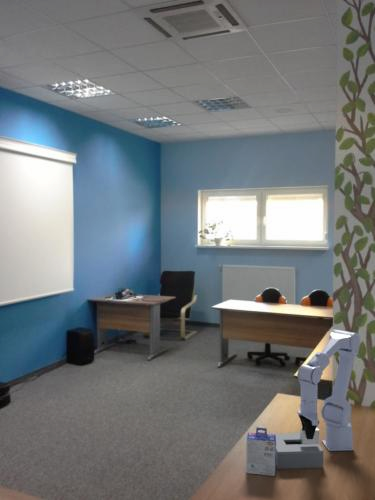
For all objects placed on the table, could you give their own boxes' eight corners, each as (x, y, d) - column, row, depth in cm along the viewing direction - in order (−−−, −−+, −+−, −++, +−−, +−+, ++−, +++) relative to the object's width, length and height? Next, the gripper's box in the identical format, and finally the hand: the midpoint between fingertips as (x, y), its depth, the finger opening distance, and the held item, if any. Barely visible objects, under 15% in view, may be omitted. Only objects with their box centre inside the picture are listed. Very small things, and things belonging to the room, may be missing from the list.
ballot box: (310, 448, 177) (310, 432, 176) (323, 467, 163) (323, 450, 163) (268, 449, 176) (268, 433, 176) (277, 468, 162) (277, 452, 162)
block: (316, 440, 167) (316, 427, 167) (318, 444, 165) (319, 430, 164) (300, 441, 167) (300, 427, 166) (302, 444, 164) (302, 430, 164)
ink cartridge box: (276, 468, 162) (276, 427, 162) (275, 476, 157) (276, 434, 156) (247, 465, 164) (247, 425, 164) (246, 473, 159) (246, 432, 158)
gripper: (291, 392, 172) (291, 428, 173) (304, 407, 157) (303, 447, 158) (310, 391, 172) (310, 427, 173) (324, 407, 158) (324, 446, 159)
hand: (308, 436), depth 166 cm, fingers closed on block, 2 cm apart
